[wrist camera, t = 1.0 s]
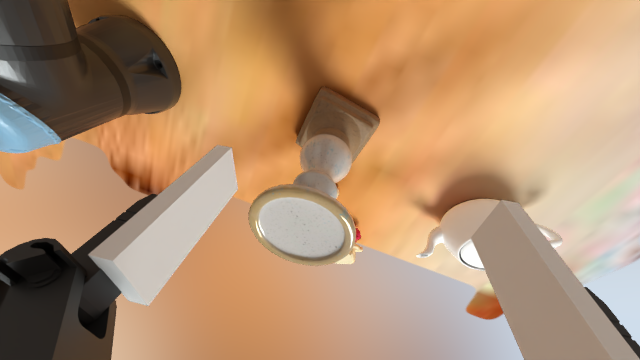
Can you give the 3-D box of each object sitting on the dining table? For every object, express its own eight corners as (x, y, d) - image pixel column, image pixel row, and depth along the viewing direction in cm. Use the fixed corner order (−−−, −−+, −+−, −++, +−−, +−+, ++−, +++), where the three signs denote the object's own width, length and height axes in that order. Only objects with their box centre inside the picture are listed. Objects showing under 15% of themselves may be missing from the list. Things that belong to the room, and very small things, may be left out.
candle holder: (322, 84, 36) (261, 162, 17) (381, 118, 37) (386, 226, 18) (297, 138, 42) (232, 238, 23) (347, 166, 43) (325, 281, 25)
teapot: (545, 182, 38) (595, 231, 29) (533, 237, 45) (570, 289, 36) (406, 199, 45) (413, 241, 37) (414, 243, 52) (421, 288, 44)
